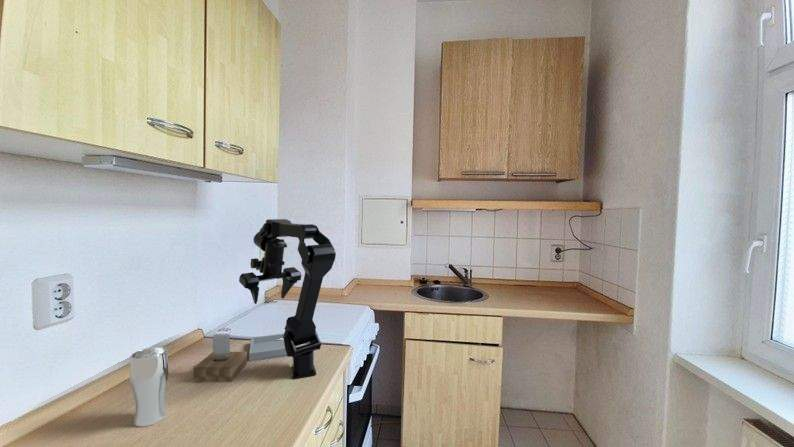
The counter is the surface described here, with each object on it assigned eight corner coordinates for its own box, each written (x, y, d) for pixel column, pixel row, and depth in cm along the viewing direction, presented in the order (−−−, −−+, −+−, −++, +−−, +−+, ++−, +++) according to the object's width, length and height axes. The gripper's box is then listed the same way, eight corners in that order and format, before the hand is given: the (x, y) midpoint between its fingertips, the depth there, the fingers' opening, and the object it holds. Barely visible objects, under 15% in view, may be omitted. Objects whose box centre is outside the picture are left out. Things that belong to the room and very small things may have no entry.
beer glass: (162, 425, 72) (161, 357, 72) (124, 431, 70) (122, 361, 70) (174, 407, 79) (172, 344, 78) (139, 411, 77) (137, 348, 76)
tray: (296, 354, 108) (296, 347, 108) (249, 361, 103) (249, 353, 103) (293, 339, 121) (293, 332, 121) (251, 344, 116) (251, 337, 116)
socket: (246, 364, 101) (246, 351, 101) (230, 381, 91) (230, 367, 91) (213, 364, 101) (213, 351, 101) (193, 381, 91) (193, 367, 91)
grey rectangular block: (230, 371, 97) (229, 333, 96) (227, 374, 95) (226, 336, 95) (216, 371, 97) (215, 333, 96) (213, 374, 95) (212, 336, 95)
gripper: (289, 246, 120) (284, 286, 123) (234, 250, 107) (231, 295, 110) (304, 257, 112) (299, 299, 116) (248, 263, 99) (243, 310, 102)
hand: (269, 300), depth 111 cm, fingers open, 9 cm apart
